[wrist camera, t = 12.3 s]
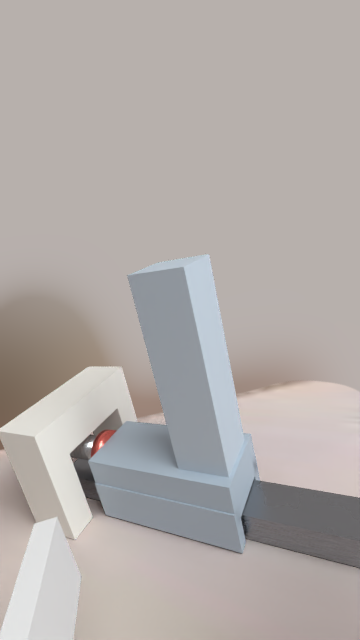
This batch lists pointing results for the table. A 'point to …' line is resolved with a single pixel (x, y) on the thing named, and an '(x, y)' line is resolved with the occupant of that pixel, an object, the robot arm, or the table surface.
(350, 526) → the rail
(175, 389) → the carriage
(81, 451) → the plunger
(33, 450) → the arch
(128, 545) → the table surface
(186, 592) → the table surface
